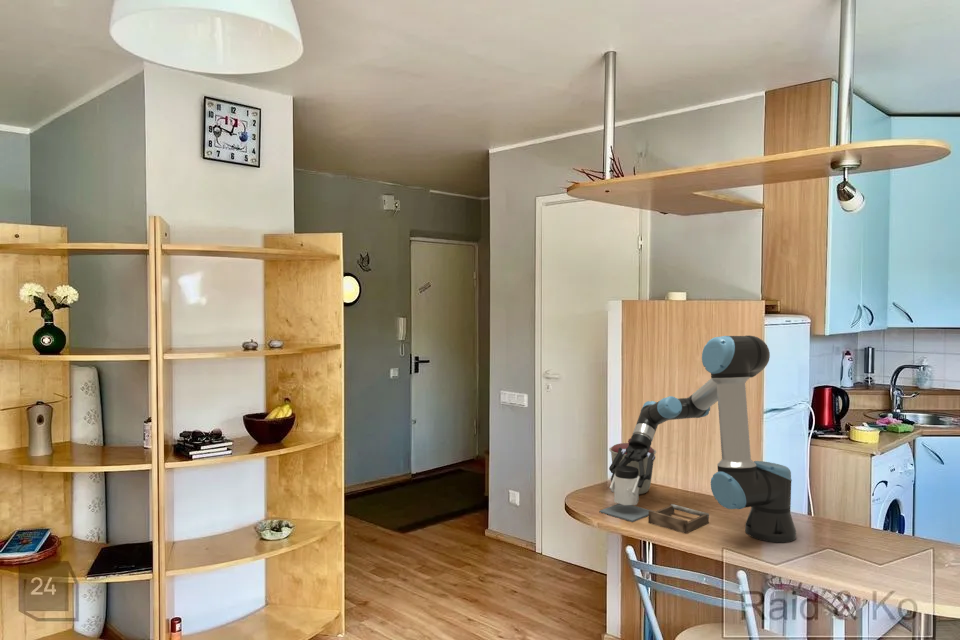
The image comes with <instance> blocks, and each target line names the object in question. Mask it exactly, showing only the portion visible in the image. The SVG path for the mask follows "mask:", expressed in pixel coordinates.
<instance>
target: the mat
mask: <svg viewBox="0 0 960 640" xmlns="http://www.w3.org/2000/svg"><path fill="white" fill-rule="evenodd" d="M649 511H652V510H650V509H647V508H644V507H640V506H638V505H622V504H618V503H615V504H614V505H611V506H608V507H606V508H603V509H600V510H598V512H599V513H600V512H601V513H600V514H603V513H605V514H604V515H606V514H608V515H607V516H610V515H611V516H610V517H614V518H617V519H621V520H624V521H627V522H631V523H634V522H636V521H639V520H642V519H644V518H646V517H647V518H648V517H649ZM653 511H654V512H655V511H656V510H653Z"/></svg>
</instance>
